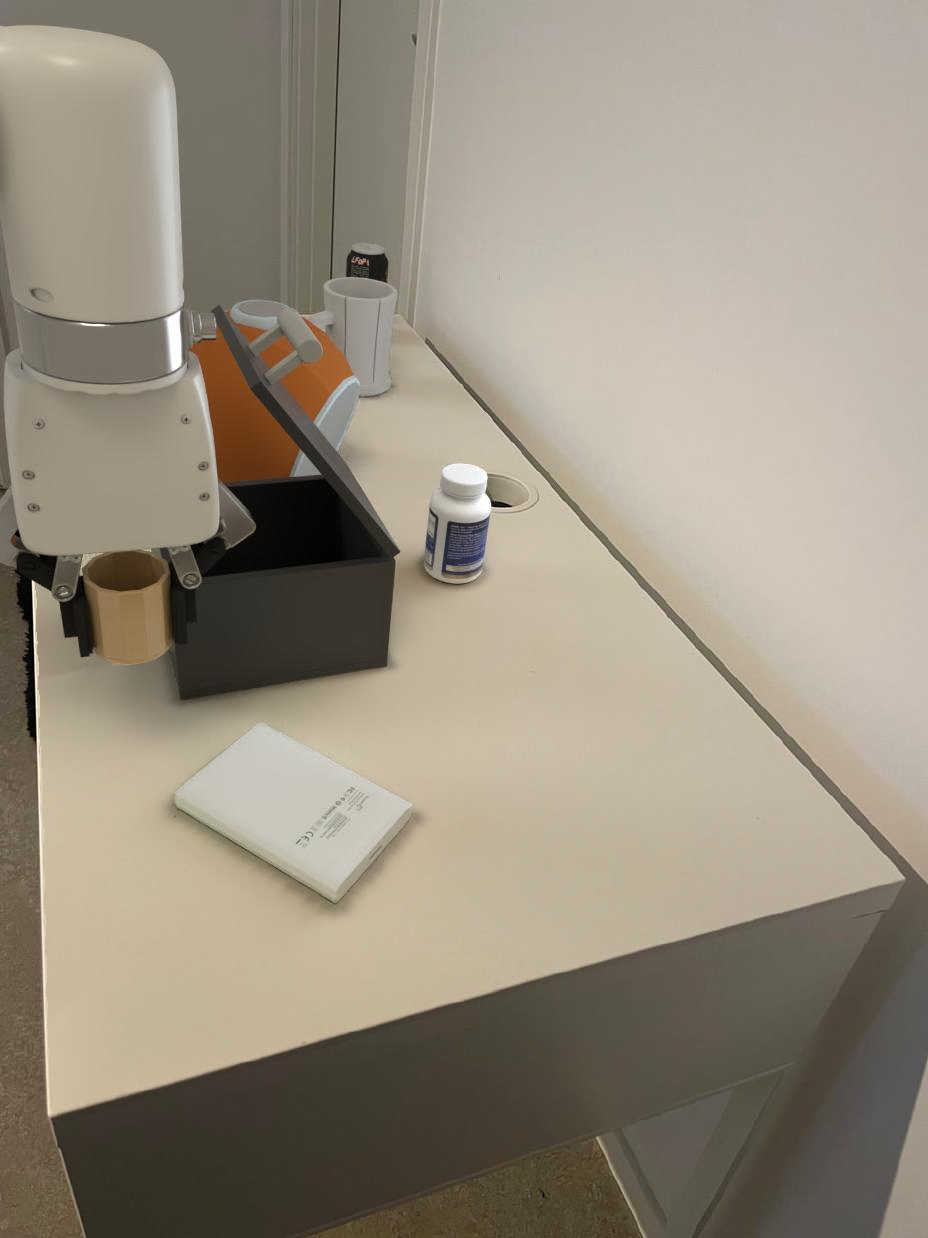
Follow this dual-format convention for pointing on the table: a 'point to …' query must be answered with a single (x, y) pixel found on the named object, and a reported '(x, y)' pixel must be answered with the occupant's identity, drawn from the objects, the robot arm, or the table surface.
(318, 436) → the lid
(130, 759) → the table surface
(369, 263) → the beverage can
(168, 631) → the wooden cup
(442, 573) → the pill bottle
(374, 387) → the cup
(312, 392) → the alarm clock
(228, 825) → the hard drive
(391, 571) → the open storage box
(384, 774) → the table surface
